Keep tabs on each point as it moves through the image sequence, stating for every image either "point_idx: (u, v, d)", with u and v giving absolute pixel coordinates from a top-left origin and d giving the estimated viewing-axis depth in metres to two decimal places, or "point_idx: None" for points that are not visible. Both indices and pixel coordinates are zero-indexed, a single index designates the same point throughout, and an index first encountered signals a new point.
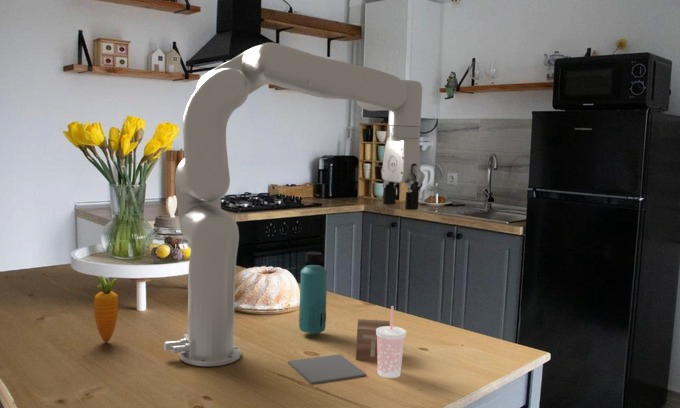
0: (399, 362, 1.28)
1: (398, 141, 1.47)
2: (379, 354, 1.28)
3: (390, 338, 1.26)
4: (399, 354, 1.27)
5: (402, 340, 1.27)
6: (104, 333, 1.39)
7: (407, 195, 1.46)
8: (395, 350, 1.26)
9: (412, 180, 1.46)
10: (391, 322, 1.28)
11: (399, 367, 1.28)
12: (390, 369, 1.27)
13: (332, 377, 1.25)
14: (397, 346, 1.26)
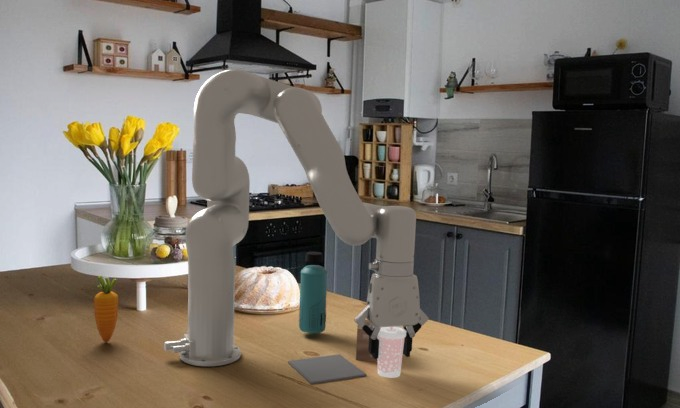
0: (399, 362, 1.28)
1: (407, 279, 1.25)
2: (379, 354, 1.28)
3: (391, 338, 1.26)
4: (399, 354, 1.27)
5: (402, 340, 1.27)
6: (104, 333, 1.39)
7: None
8: (395, 350, 1.26)
9: None
10: None
11: (399, 367, 1.28)
12: (390, 369, 1.27)
13: (332, 377, 1.25)
14: (397, 346, 1.26)
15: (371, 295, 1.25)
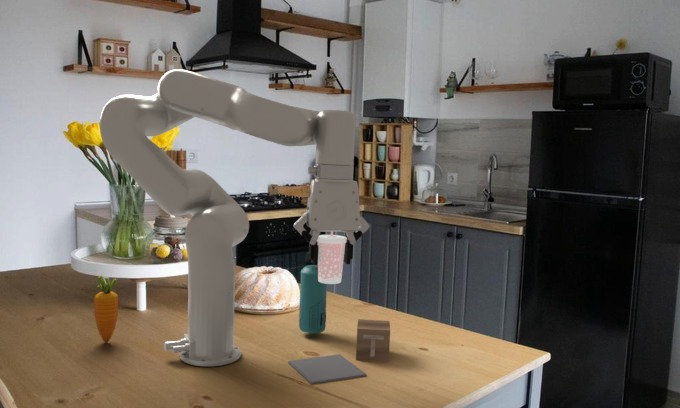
0: (339, 268, 1.26)
1: (346, 183, 1.24)
2: (319, 260, 1.27)
3: (330, 243, 1.24)
4: (339, 260, 1.26)
5: (342, 246, 1.26)
6: (104, 333, 1.39)
7: (350, 248, 1.27)
8: (335, 255, 1.25)
9: None
10: None
11: (339, 274, 1.27)
12: (329, 275, 1.26)
13: (332, 377, 1.25)
14: (337, 252, 1.25)
15: (310, 199, 1.24)
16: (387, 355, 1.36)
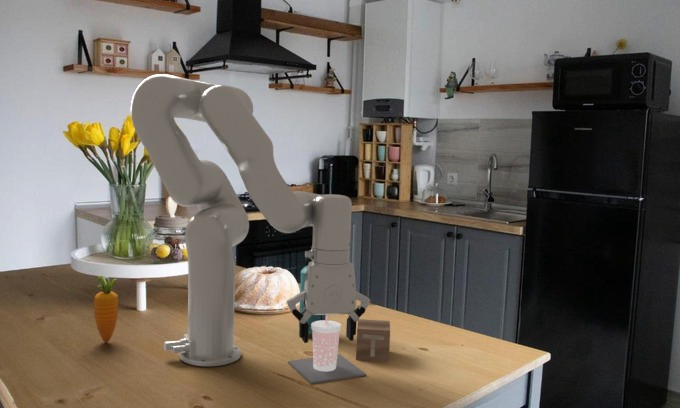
0: (334, 356, 1.28)
1: (343, 267, 1.26)
2: (314, 348, 1.29)
3: (324, 332, 1.26)
4: (334, 348, 1.28)
5: (336, 334, 1.28)
6: (104, 333, 1.39)
7: (353, 325, 1.29)
8: (329, 344, 1.27)
9: None
10: (326, 316, 1.29)
11: (334, 361, 1.29)
12: (324, 362, 1.28)
13: (332, 377, 1.25)
14: (332, 340, 1.27)
15: (307, 283, 1.26)
16: (387, 355, 1.36)
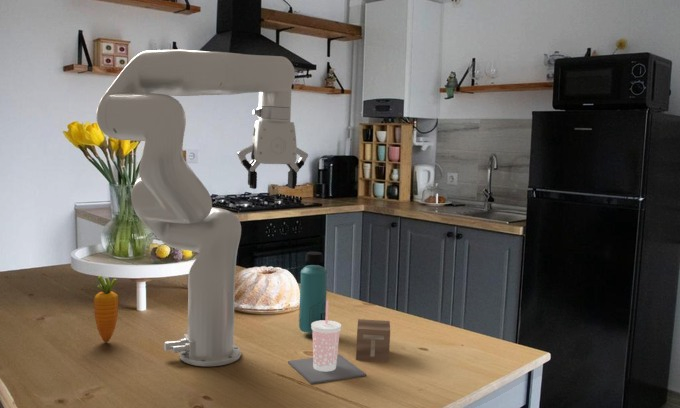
0: (334, 356, 1.28)
1: (286, 123, 1.48)
2: (314, 348, 1.29)
3: (324, 332, 1.26)
4: (334, 348, 1.28)
5: (336, 334, 1.28)
6: (104, 333, 1.39)
7: None
8: (329, 344, 1.27)
9: None
10: (326, 316, 1.29)
11: (334, 361, 1.29)
12: (324, 362, 1.28)
13: (332, 377, 1.25)
14: (332, 340, 1.27)
15: (255, 136, 1.47)
16: (387, 355, 1.36)
